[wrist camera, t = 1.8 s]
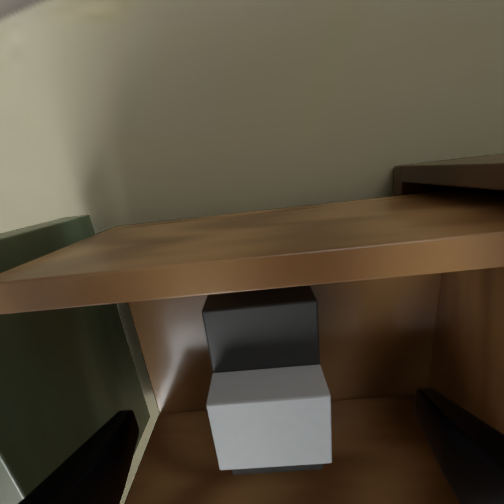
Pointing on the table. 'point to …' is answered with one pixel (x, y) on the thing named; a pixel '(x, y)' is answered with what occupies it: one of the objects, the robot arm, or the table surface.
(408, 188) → the cabinet
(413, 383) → the drawer
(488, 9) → the table surface
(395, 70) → the table surface
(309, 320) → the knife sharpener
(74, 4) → the table surface
